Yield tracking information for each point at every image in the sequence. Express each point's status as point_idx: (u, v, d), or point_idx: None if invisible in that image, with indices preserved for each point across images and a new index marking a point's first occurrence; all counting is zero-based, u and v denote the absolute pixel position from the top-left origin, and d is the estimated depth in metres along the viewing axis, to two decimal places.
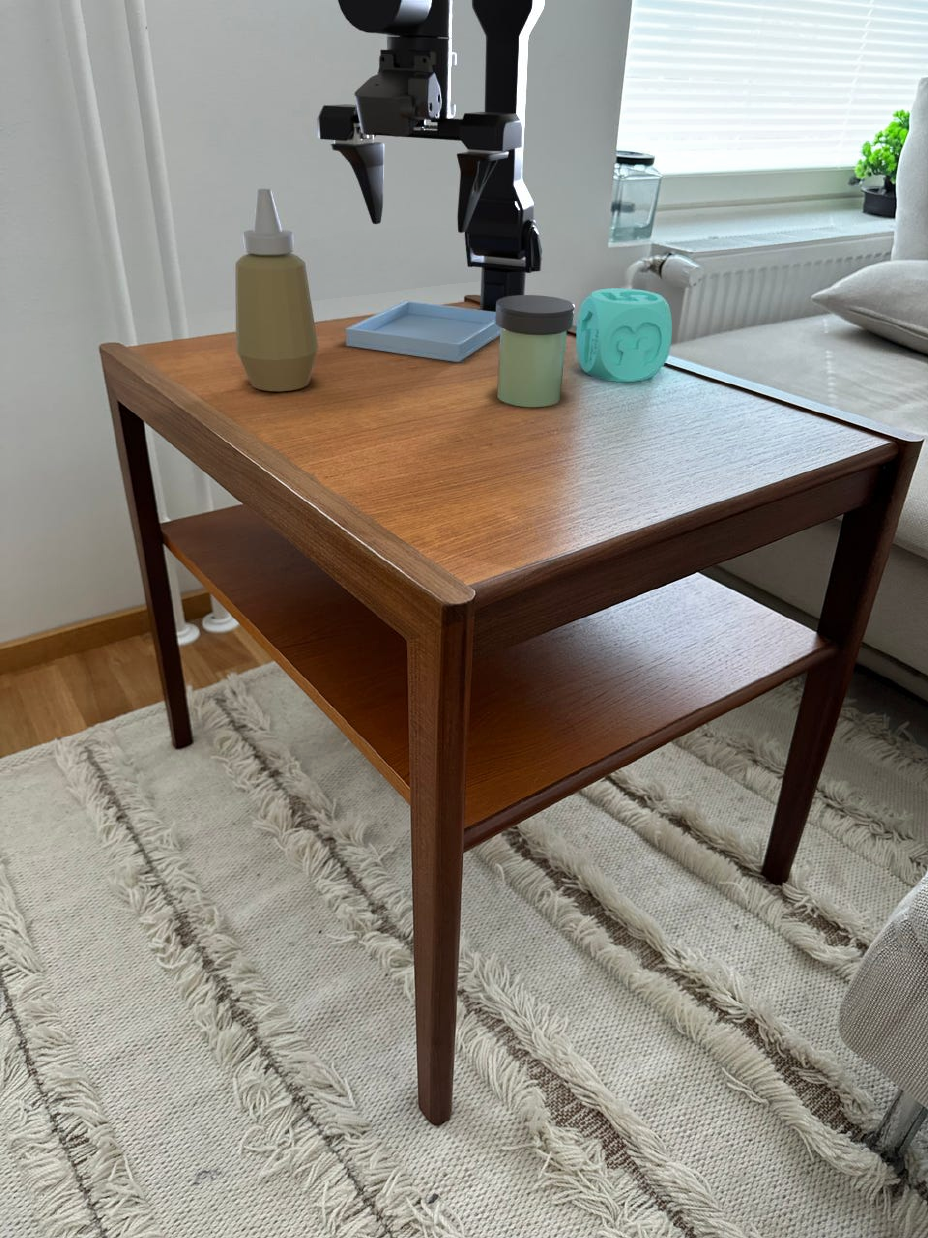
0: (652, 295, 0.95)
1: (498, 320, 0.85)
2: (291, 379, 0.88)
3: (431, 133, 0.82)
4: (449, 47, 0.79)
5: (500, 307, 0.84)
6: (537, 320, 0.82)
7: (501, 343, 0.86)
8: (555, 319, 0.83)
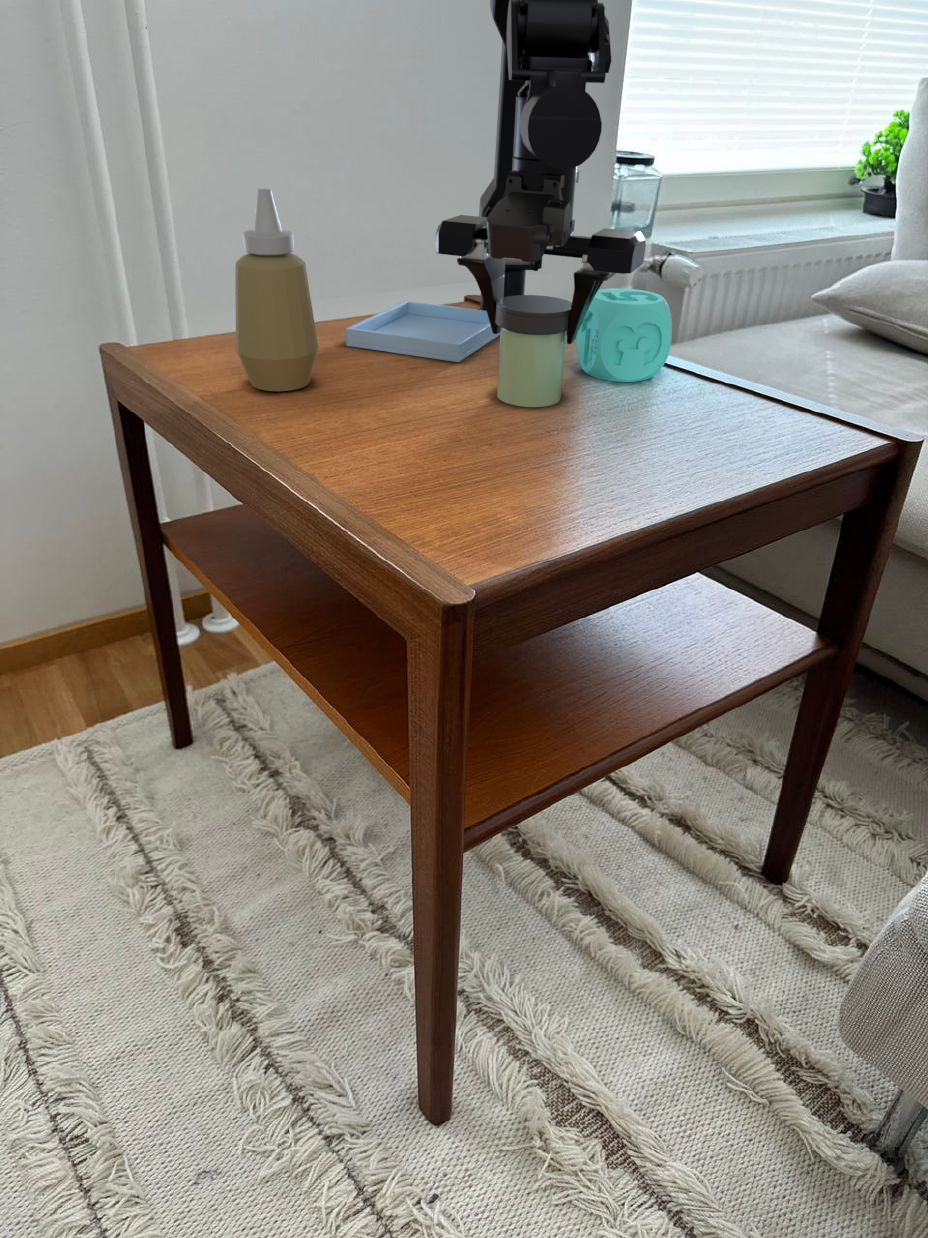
0: (652, 295, 0.95)
1: (498, 320, 0.85)
2: (291, 379, 0.88)
3: (552, 250, 0.82)
4: (576, 168, 0.78)
5: (500, 307, 0.84)
6: (537, 320, 0.82)
7: (501, 343, 0.86)
8: (555, 319, 0.83)
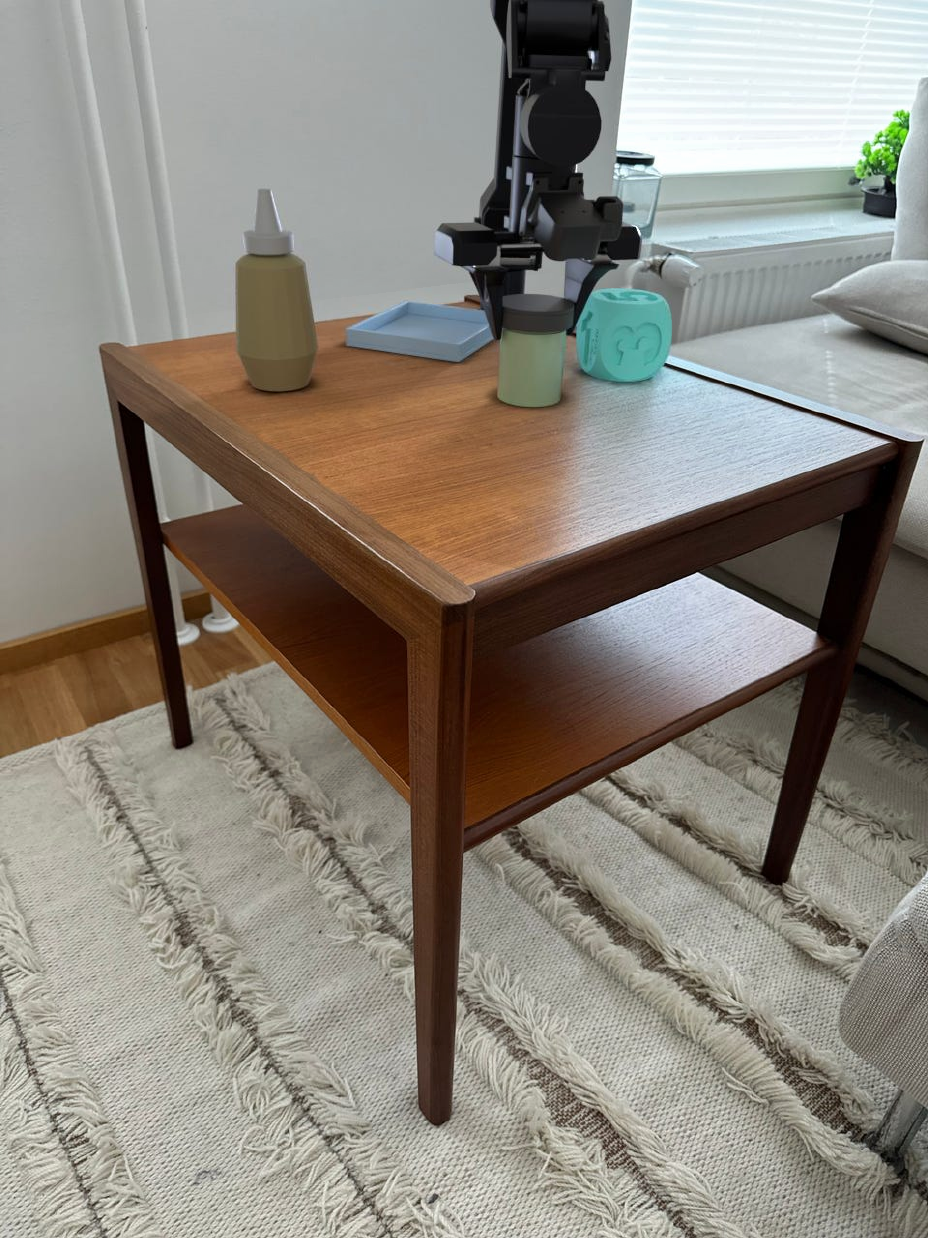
0: (652, 295, 0.95)
1: (518, 324, 0.83)
2: (291, 379, 0.88)
3: None
4: None
5: (522, 311, 0.82)
6: (563, 317, 0.83)
7: (501, 343, 0.86)
8: (572, 313, 0.84)
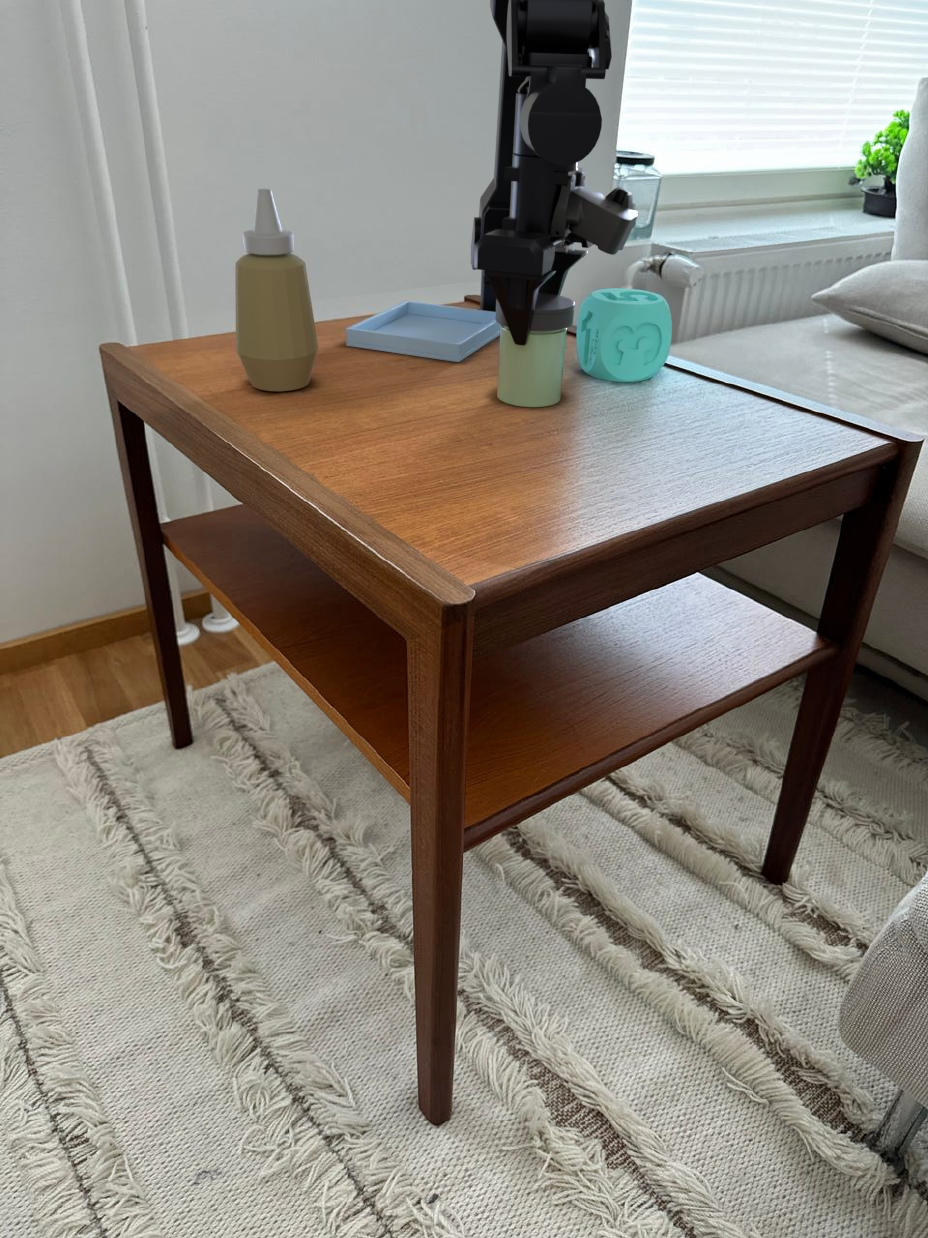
0: (652, 295, 0.95)
1: (551, 324, 0.83)
2: (291, 379, 0.88)
3: None
4: None
5: (555, 310, 0.82)
6: None
7: (501, 343, 0.86)
8: None
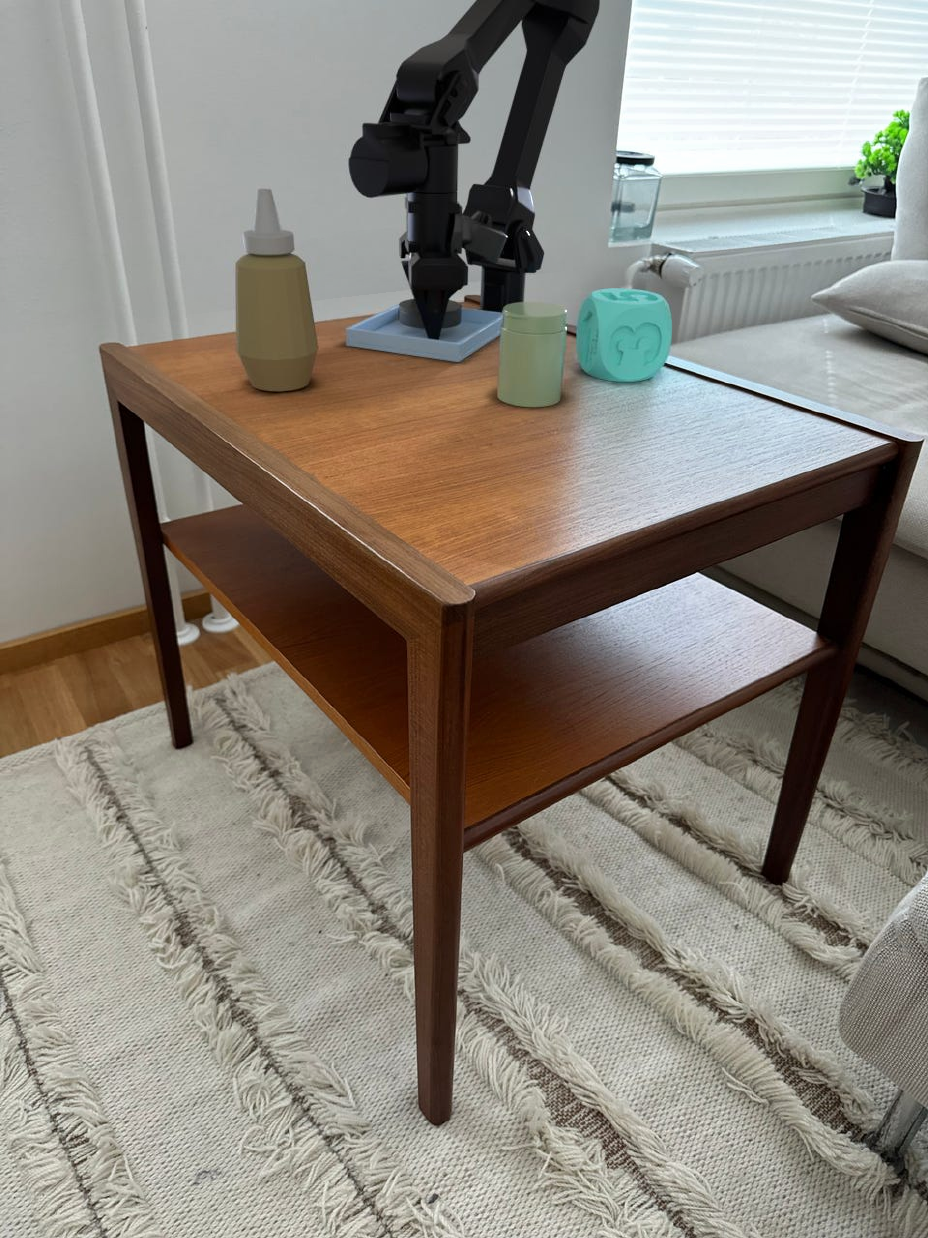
0: (652, 295, 0.95)
1: (454, 321, 1.05)
2: (291, 379, 0.88)
3: None
4: None
5: (455, 310, 1.04)
6: None
7: (501, 343, 0.86)
8: None
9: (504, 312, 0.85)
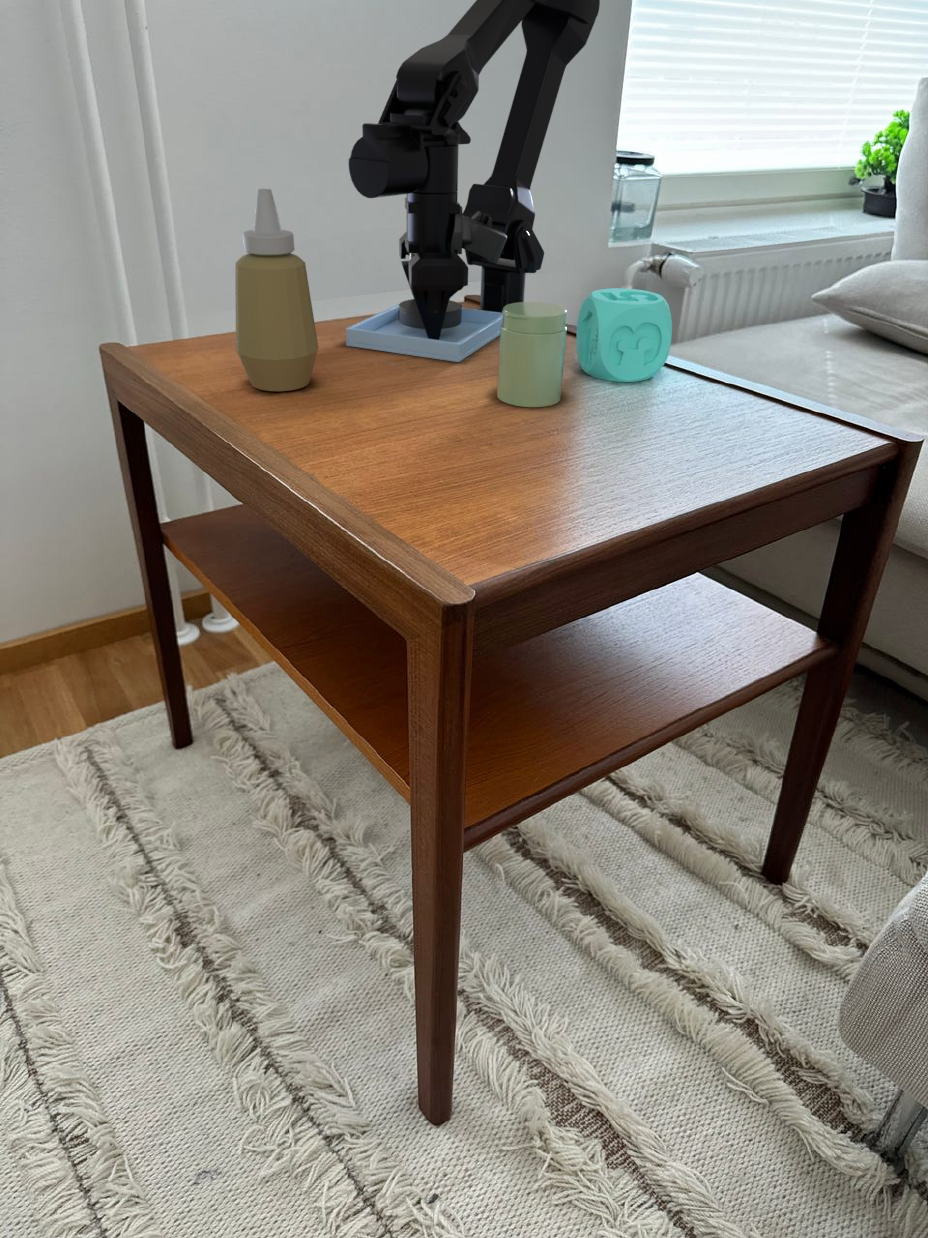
0: (652, 295, 0.95)
1: (454, 322, 1.05)
2: (291, 379, 0.88)
3: None
4: None
5: (455, 310, 1.04)
6: None
7: (501, 343, 0.86)
8: None
9: (504, 312, 0.85)
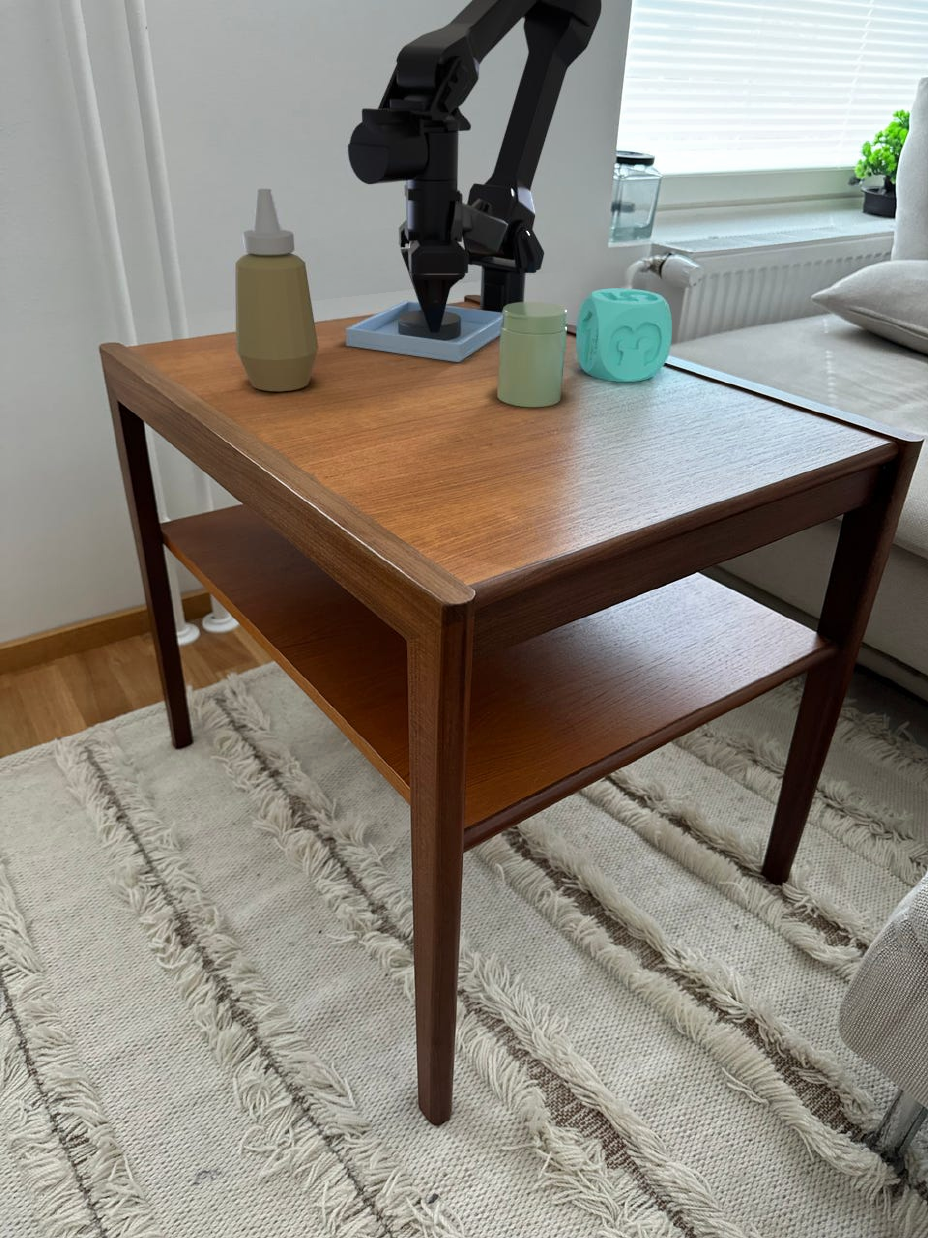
0: (652, 295, 0.95)
1: (453, 334, 1.05)
2: (291, 379, 0.88)
3: None
4: None
5: (455, 323, 1.05)
6: None
7: (501, 343, 0.86)
8: None
9: (504, 312, 0.85)
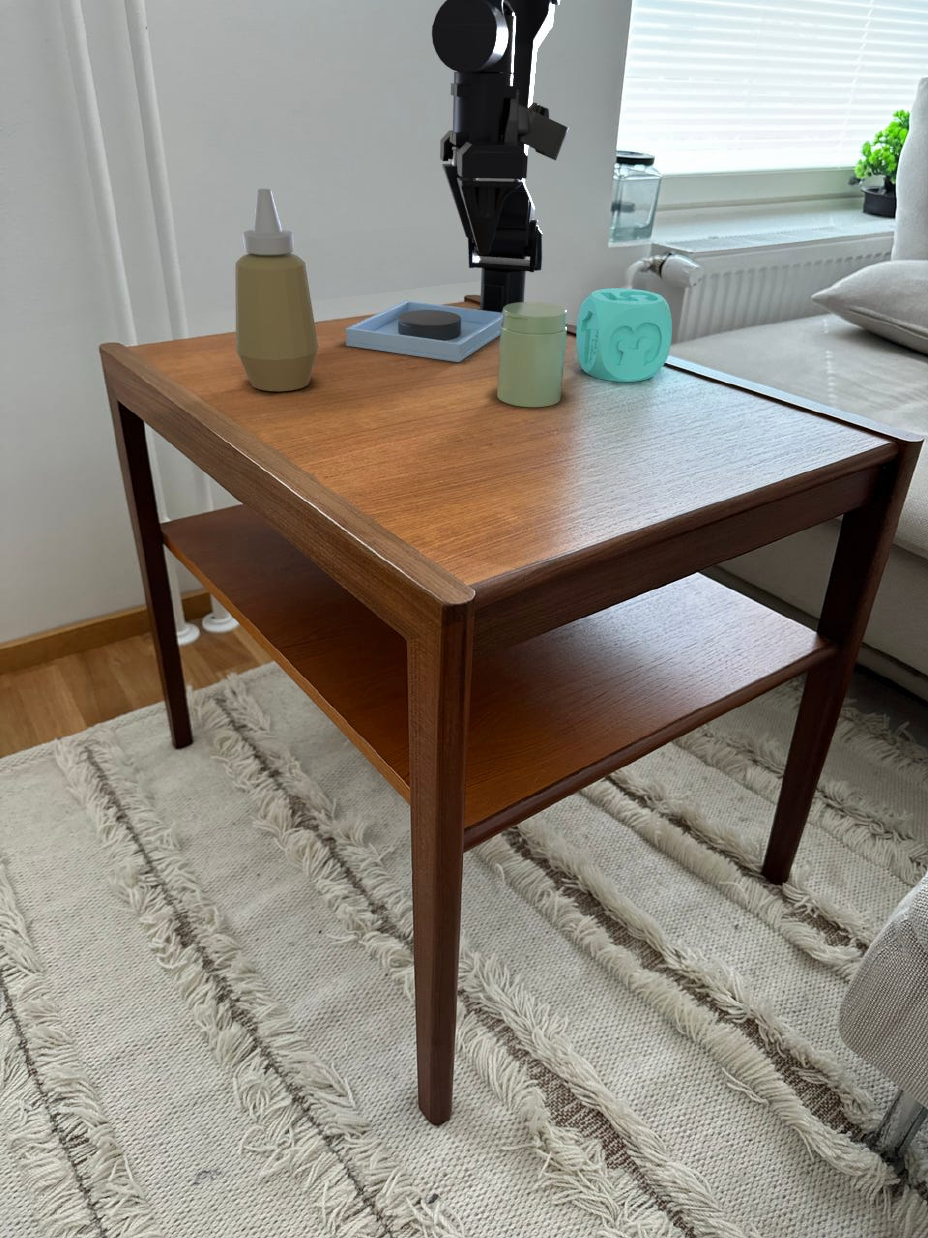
0: (652, 295, 0.95)
1: (453, 334, 1.05)
2: (291, 379, 0.88)
3: None
4: None
5: (455, 323, 1.05)
6: None
7: (501, 343, 0.86)
8: None
9: (504, 312, 0.85)
